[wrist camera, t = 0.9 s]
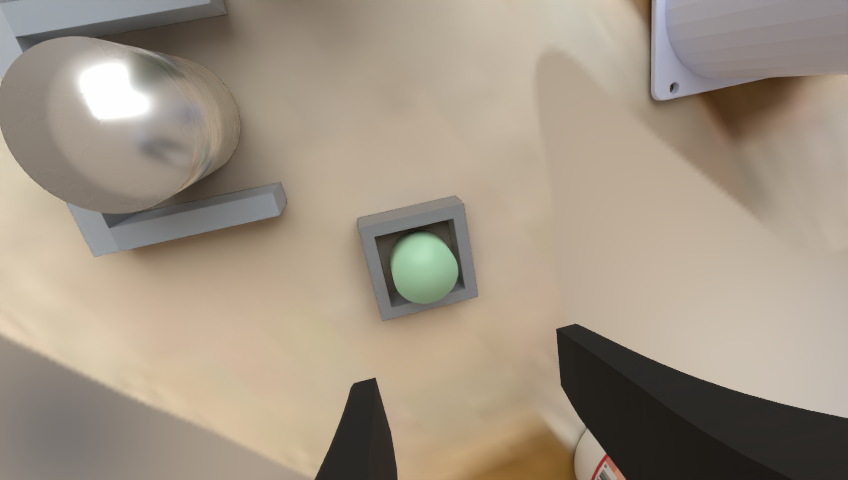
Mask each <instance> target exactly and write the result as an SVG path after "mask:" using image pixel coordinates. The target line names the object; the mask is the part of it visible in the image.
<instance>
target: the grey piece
mask: <svg viewBox="0 0 848 480" xmlns="http://www.w3.org/2000/svg"><path fill="white" fill-rule="evenodd" d="M225 14H227V11H226V8H225V5H224V2H223V0H0V75H1V77H2V79H3V78H4V76H5V74H6V72H7V70H8V68H9V67H10V66H11V65H12V63H13V62H14V61H15V60H16V59H17V58H18V57H19V56H20V55H21V54H22V53H23V52H25V51H26V50H28V49H29V48H31V47H33V46H34V45H37V44H39V43H41V42H44V41H47V40H51V39H55V38H60V37H69V36H77V37H89V38H95V37H101V36H106V35H112V34H118V33H123V32H129V31H135V30H140V29H146V28H152V27H157V26H163V25H169V24H174V23H180V22H186V21H191V20H197V19H203V18H208V17H214V16H220V15H225ZM66 204H67V206H68V207H69V209H70V211H71V213H72V215H73V217H74V219H75V221H76V223H77V225H78V227H79V229H80V231H81V233H82V235H83V237H84V239H85V240H86V242H87V244H88V246H89V248H90V250H91V252H92V254H93V256H94V257H98V256H102V255H106V254H111V253H115V252H120V251H124V250H129V249H133V248H137V247H142V246H146V245H151V244H155V243H160V242H164V241H169V240H173V239H177V238H182V237H186V236H191V235H195V234H200V233H204V232H209V231H213V230H217V229H222V228H226V227H231V226H235V225H240V224H244V223H248V222H253V221H257V220H262V219H266V218H271V217H275V216H280V215H281V213H282V211H283V209H284V207H285V206H286V204H287V201H286V198H285V194H284V191H283V188H282V185H281V182H279V183H275V184H270V185H265V186H261V187H256V188H252V189H247V190H242V191H238V192H233V193H229V194H224V195H220V196H215V197H210V198H206V199H201V200H197V201H192V202H187V203H183V204H178V205H174V206H169V207H164V208H160V209H155V210H151V211H146V212H141V213H137V214H135V213H134V212H131V213H121V214H111V213H101V212H95V211H90V210H87V209H83V208H80V207H77V206H75V205H72V204H70V203H67V202H66Z"/></svg>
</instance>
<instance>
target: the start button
mask: <svg viewBox="0 0 848 480" xmlns="http://www.w3.org/2000/svg"><path fill="white" fill-rule="evenodd" d="M389 263H390V268H391V272H392V276H393V280H394V284H395V287H396V289H397V290H398V292H399V293H400V294H401V295H402V296H403V297H404V298H406V299H407V300H409V301H411V302H414V303H419V304H427V303H432V302H436V301H438V300H440V299H442V298H443V297H445V296H446V295H447V294H448V293H449V292H450V291H451V290H452V289H453V287H454V285H455V283H456V281H457V277H458V265H457V262H456V259H455V257H454V256H453V254H452V253H451V251H450V250H449V248H448V247H447V245H446V244H445V242H444V241H443V239H442V238H441V237H440V236H438V235H437V234H435V233H433V232H430V231H426V230H416V231H412V232H409V233H407V234H405V235H403V236H402V237H400V238H399V239H398V240H397V241H396V243H395V244H394V245H393V247H392V249H391V252H390V257H389Z"/></svg>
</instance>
